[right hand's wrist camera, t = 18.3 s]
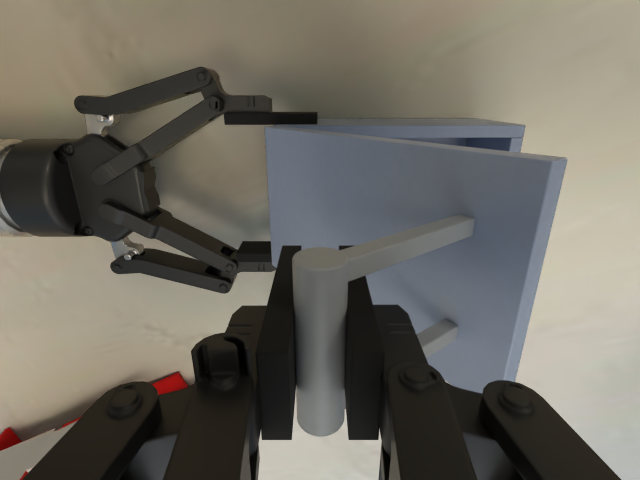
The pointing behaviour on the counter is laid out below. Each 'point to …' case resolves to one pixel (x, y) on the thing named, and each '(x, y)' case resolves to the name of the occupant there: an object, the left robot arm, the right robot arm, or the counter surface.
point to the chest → (429, 130)
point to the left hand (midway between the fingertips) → (317, 189)
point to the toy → (51, 439)
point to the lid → (408, 251)
